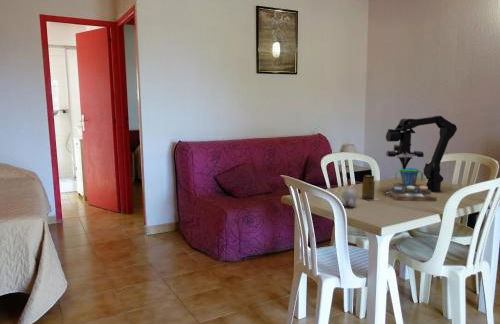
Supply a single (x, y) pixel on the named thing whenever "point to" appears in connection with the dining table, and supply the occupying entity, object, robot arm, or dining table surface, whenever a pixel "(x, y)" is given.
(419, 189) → the terracotta button
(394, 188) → the slate blue button
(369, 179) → the condiment
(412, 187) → the sage button
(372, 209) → the dining table surface
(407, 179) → the snack cup
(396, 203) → the dining table surface
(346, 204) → the round bodied animal figurine
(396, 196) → the console
